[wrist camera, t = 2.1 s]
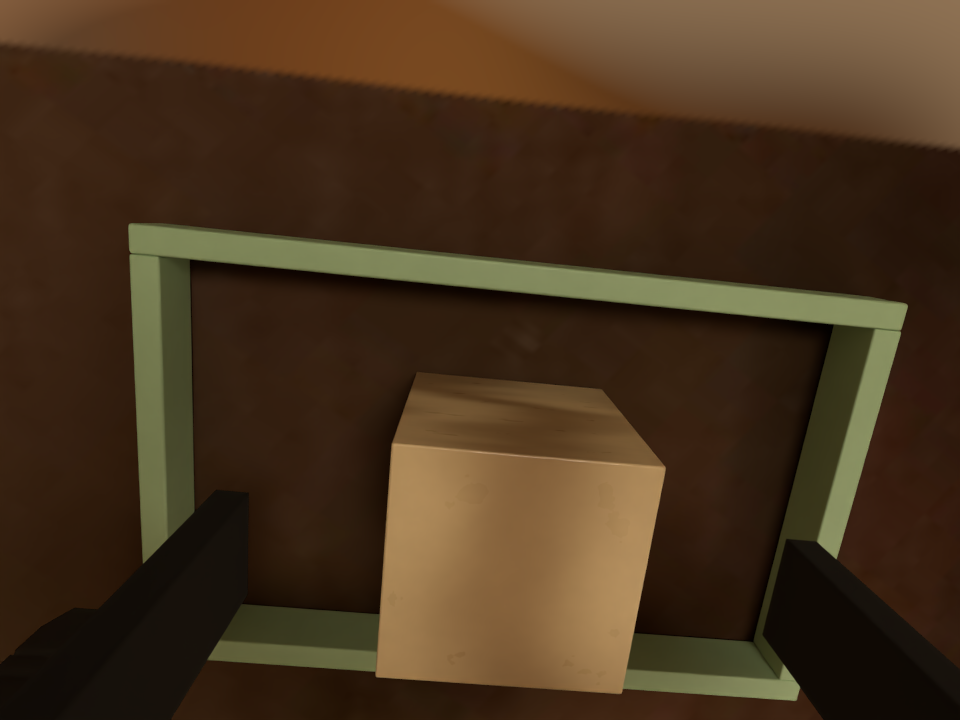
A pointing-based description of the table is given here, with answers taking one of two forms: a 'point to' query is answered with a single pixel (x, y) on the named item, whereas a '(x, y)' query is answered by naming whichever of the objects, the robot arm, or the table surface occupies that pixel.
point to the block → (514, 536)
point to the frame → (845, 375)
